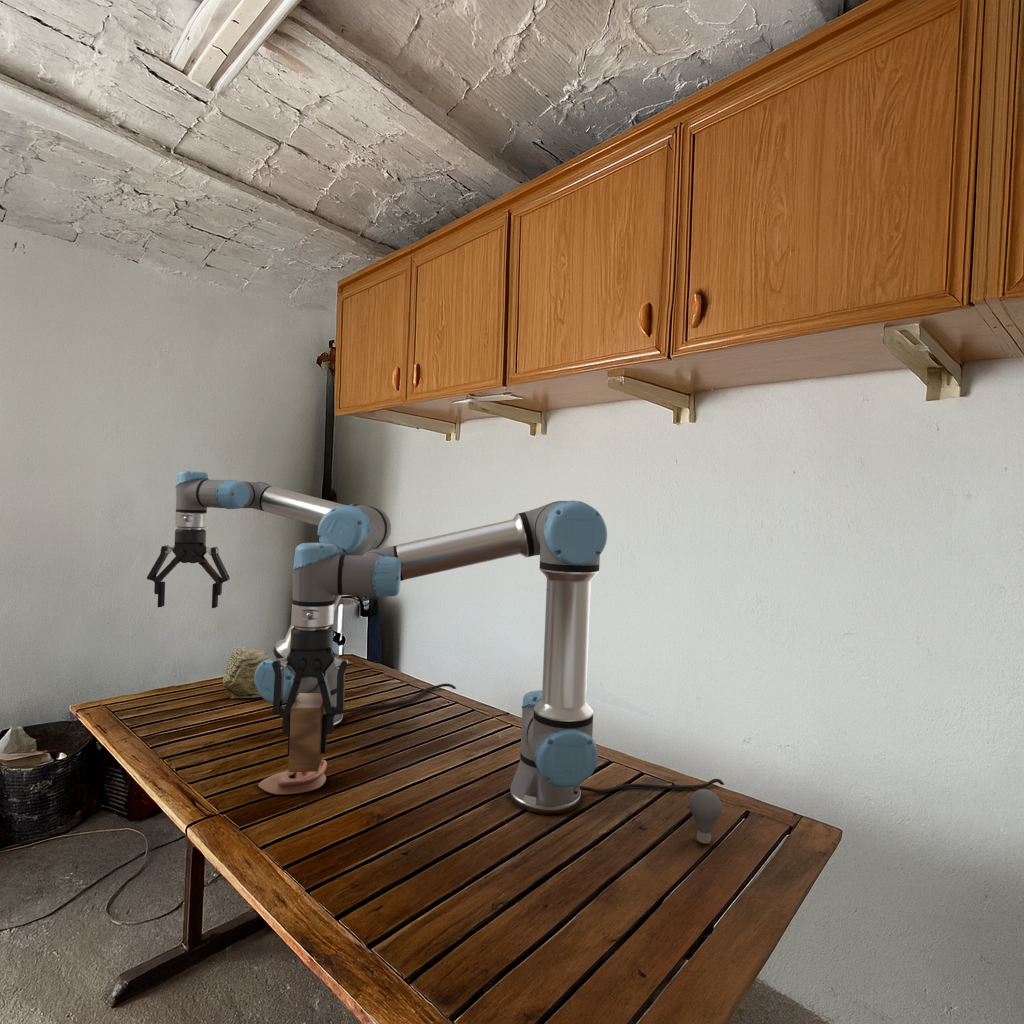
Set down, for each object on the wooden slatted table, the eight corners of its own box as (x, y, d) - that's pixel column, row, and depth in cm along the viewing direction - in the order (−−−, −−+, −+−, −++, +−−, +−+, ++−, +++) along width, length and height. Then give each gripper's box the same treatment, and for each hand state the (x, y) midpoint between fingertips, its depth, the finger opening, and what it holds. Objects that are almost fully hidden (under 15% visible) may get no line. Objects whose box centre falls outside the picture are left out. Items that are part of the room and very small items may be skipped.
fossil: (218, 695, 195) (220, 647, 195) (278, 685, 208) (279, 640, 207) (228, 703, 189) (230, 653, 188) (289, 692, 201) (290, 645, 201)
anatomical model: (250, 772, 134) (280, 751, 146) (249, 790, 135) (280, 768, 146) (307, 780, 132) (333, 759, 143) (306, 799, 132) (333, 776, 143)
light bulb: (682, 833, 125) (685, 783, 125) (712, 833, 125) (714, 783, 125) (694, 850, 119) (696, 797, 119) (725, 850, 119) (727, 798, 119)
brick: (288, 772, 113) (290, 708, 113) (296, 752, 121) (299, 693, 121) (317, 771, 114) (320, 707, 113) (324, 752, 122) (326, 692, 122)
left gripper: (134, 527, 165) (132, 608, 165) (235, 530, 169) (232, 610, 170) (146, 526, 173) (144, 603, 173) (243, 529, 177) (240, 605, 177)
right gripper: (256, 630, 112) (251, 760, 112) (361, 631, 115) (355, 758, 115) (265, 621, 119) (260, 744, 120) (364, 623, 122) (359, 742, 123)
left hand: (188, 607), depth 171 cm, fingers open, 13 cm apart
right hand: (307, 750), depth 118 cm, fingers closed on brick, 5 cm apart
